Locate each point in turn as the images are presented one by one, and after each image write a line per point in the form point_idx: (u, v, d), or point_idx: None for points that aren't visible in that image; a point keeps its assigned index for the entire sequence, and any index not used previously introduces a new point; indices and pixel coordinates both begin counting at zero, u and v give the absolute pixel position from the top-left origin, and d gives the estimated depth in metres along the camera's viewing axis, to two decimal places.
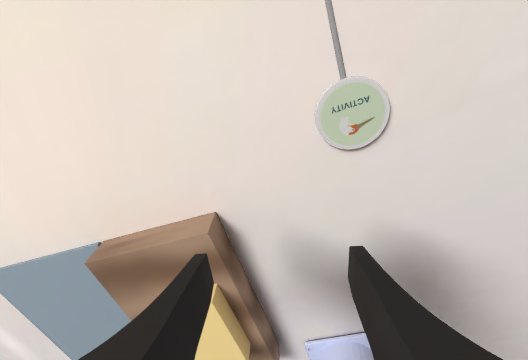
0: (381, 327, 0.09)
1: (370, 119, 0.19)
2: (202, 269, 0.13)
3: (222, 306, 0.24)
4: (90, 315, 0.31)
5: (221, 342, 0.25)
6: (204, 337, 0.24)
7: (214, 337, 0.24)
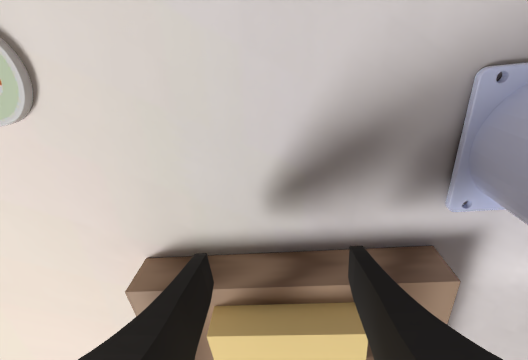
0: (381, 327, 0.09)
1: None
2: (202, 269, 0.13)
3: (239, 319, 0.16)
4: None
5: (298, 349, 0.15)
6: None
7: (284, 353, 0.16)
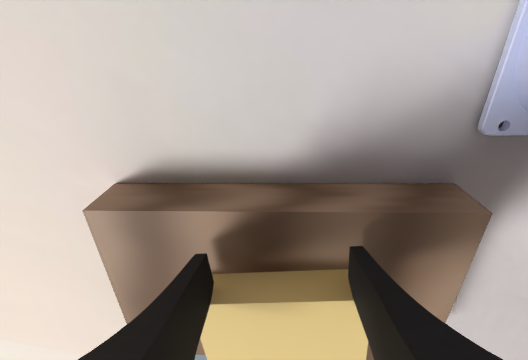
0: (381, 327, 0.09)
1: None
2: (202, 269, 0.13)
3: (227, 287, 0.14)
4: None
5: (292, 320, 0.14)
6: (274, 335, 0.14)
7: (277, 324, 0.14)
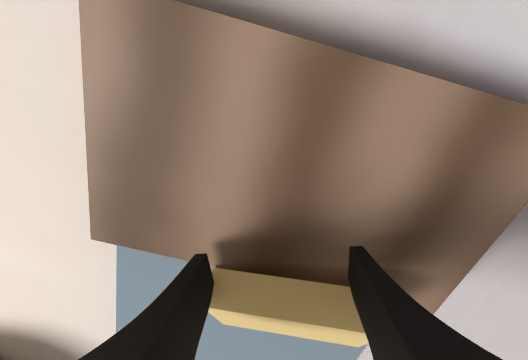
0: (381, 327, 0.09)
1: None
2: (202, 269, 0.13)
3: (240, 291, 0.14)
4: None
5: (302, 327, 0.14)
6: (282, 326, 0.15)
7: (286, 325, 0.14)
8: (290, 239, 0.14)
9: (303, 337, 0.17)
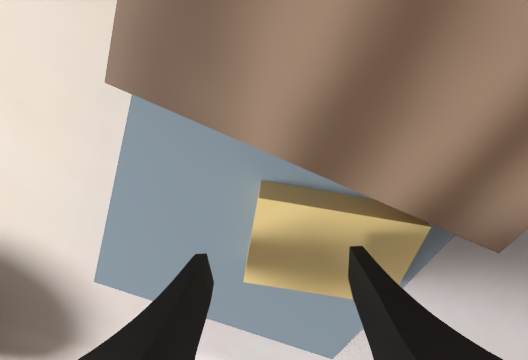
0: (381, 327, 0.09)
1: None
2: (202, 269, 0.13)
3: (292, 194, 0.14)
4: (246, 246, 0.17)
5: (350, 234, 0.14)
6: (325, 248, 0.15)
7: (333, 237, 0.14)
8: (370, 118, 0.11)
9: (333, 293, 0.16)
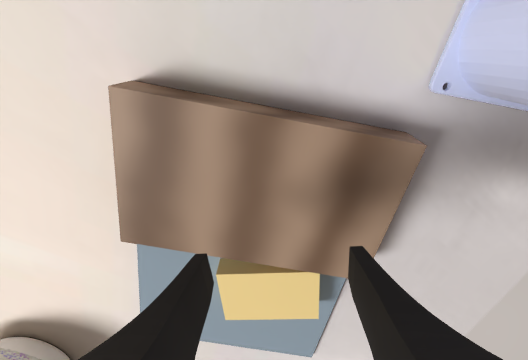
0: (381, 327, 0.09)
1: None
2: (202, 269, 0.13)
3: (237, 265, 0.24)
4: None
5: (275, 284, 0.24)
6: (264, 293, 0.24)
7: (266, 287, 0.24)
8: (254, 231, 0.20)
9: (281, 317, 0.25)
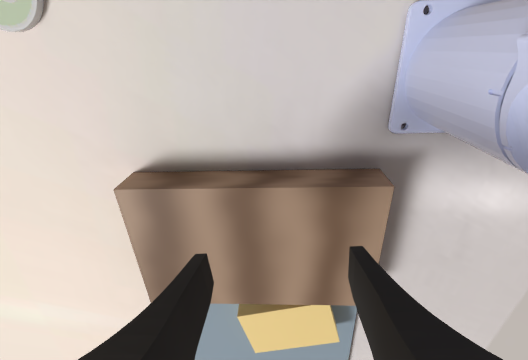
0: (381, 327, 0.09)
1: None
2: (202, 269, 0.13)
3: (255, 305, 0.27)
4: None
5: (291, 317, 0.26)
6: (284, 326, 0.26)
7: (284, 321, 0.26)
8: (259, 279, 0.23)
9: (305, 345, 0.28)
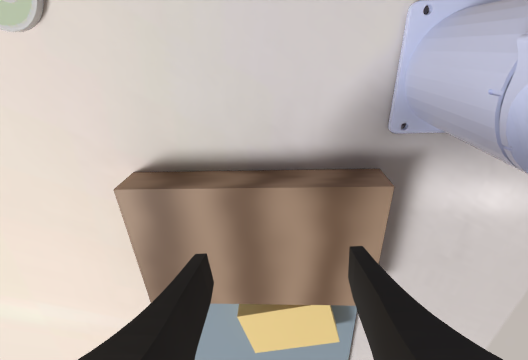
0: (381, 327, 0.09)
1: None
2: (202, 269, 0.13)
3: (255, 305, 0.27)
4: None
5: (291, 317, 0.26)
6: (284, 326, 0.26)
7: (284, 321, 0.26)
8: (259, 279, 0.23)
9: (305, 345, 0.28)
